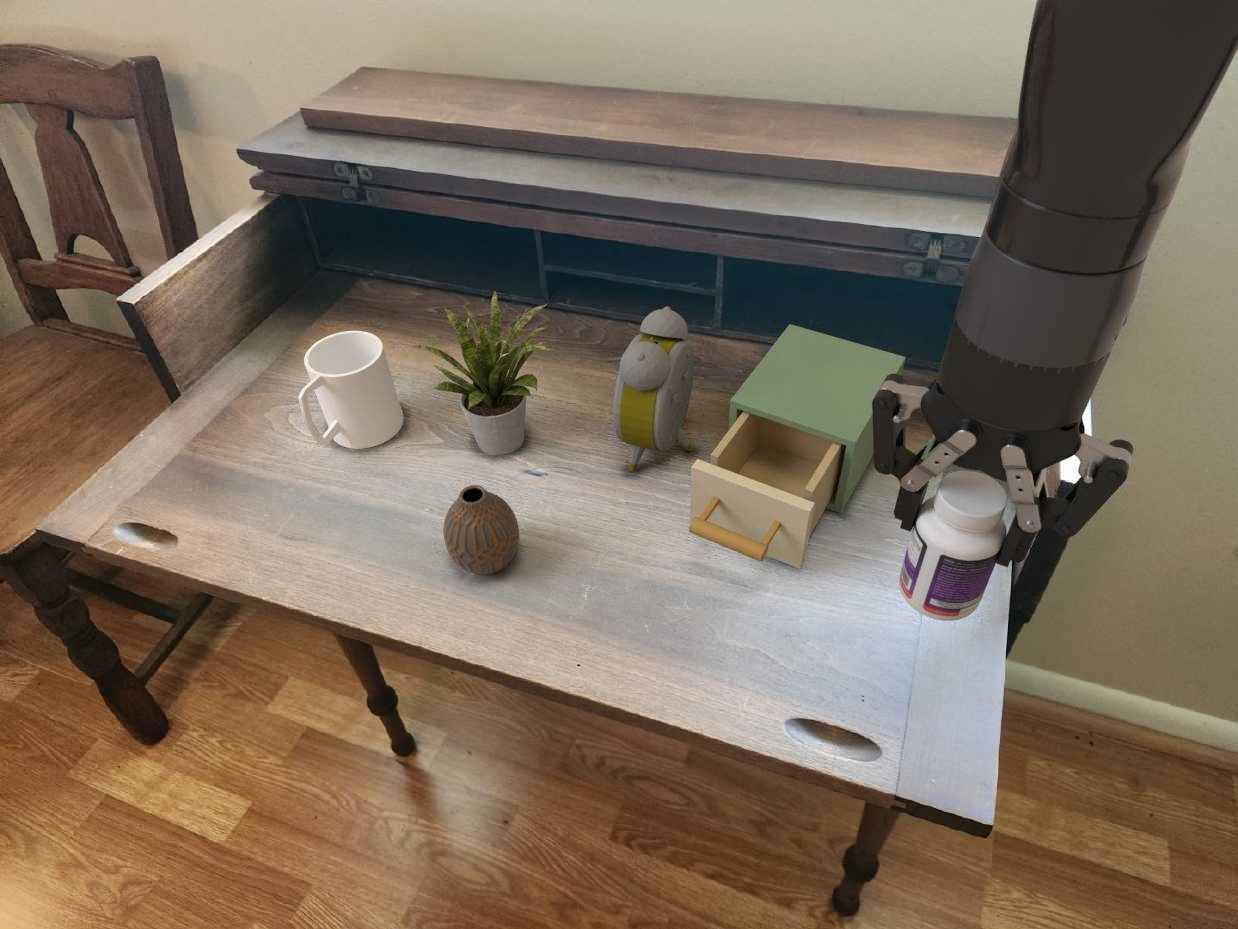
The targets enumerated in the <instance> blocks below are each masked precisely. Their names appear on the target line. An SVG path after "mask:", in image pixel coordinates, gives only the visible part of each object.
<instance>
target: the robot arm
mask: <svg viewBox="0 0 1238 929" xmlns="http://www.w3.org/2000/svg"><path fill="white" fill-rule="evenodd" d="M1032 15H1033V16H1032V20H1031V26H1030V30H1029V37H1028V42H1027V47H1026V54H1025V60H1024V66H1023V72H1022V78H1021V85H1020V93H1019V102H1018V109H1017V119H1016V125H1015V128H1014V131H1013V134H1012V137H1011V138H1010V142H1009V144H1008V147H1007V148H1006V149H1007V150H1006V152H1005V154H1004V158H1003V161H1002V164H1001V168H1000V172H999V175H998V178H997V182H996V186H995V188H994V193H993V196H992V199H991V203H990V208H989V210H988V213H987V217H986V220H985V223H984V227H983V230H982V232H981V235H980V238H979V239H978V242H977V245H976V247H975V249H974V251H973V253H972V256H971V258H970V260H969V263H968V265H967V269H966V272H965V276H964V279H963V283H962V287H961V290H960V293H959V294H960V295H959V297H958V301H957V305H956V308H955V312H954V316H953V319H952V322H951V326H950V330H949V332H948V333H949V334H948V337H947V341H946V344H945V347H944V351H943V354H942V359H941V362H940V365H939V369H938V373H937V377H936V378H935V379H934V380H932V381H931V382H930V383H929V384H928V386H920V385H912V384H906V380H905V378H904V377H903V376H902V375H899V374H895V373H892V374H889V375H888V376H887V377H886V378H885V380H884V382H883V383H882V385H881V387H880V389H879V390H878V392H877V394H876V395H875V397H874V399H873V401H872V416H873V448H874V455H873V466H874V469H875V471H877V472H878V473H879V474H881V475H892V476H894V477H895V478H896V479H897V480H898V481H899V484H900V485H899V486H900V487H899V490H898V494H897V498H896V501H895V505H894V509H893V515H894V518H895V519H896V520H899V521H901V523H900V526H899V529H901V530H904V531H907V532H908V533H909V532H910V533H912V530H913V527H914V524H915V520H916V517H917V514H918V511H919V509H920V507H921V506H922V504H923V503H924V500H925V497H926V493H927V489H928V487H929V483H930V481H931V480H932V479H933V478H937V477H938V476H940V474H942V473H943V472H944V471H945V470H946V469H947V468H949V467H950V466H951V465H953V466H956V467H959V468H962V469H965V470H971V471H972V470H973V471H980V472H982V473H983V474H985V475H987V476H989V477H990V478H992V479H996V480H999V481H1003V482H1005V483H1007V487H1008V492H1009V497H1010V502H1011V504H1014V507H1015V514H1014V516H1013V519H1012V521H1011V524H1010V526H1009V528H1008V530H1007V533H1006V539H1005V542H1004V544H1003V547H1002V549H1001V552H1000V554H999V557H998V559H997V562H996V564H995V565H999V566H1002V567H1005V568H1009V565H1010V563H1011V561H1012V562H1014V563H1017V564H1020V563H1021V562H1023V561H1025V559H1026V557H1027V555H1028V553H1029V550H1030V548H1031V546H1032V544H1033V542H1034V540H1035V538H1036V535H1037V534H1038V532H1040V531H1041V530H1047V529H1049V530H1054V531H1055V532H1056V533H1057V534H1058V535H1060V536H1062V537H1066V538H1070V537H1074V536H1076V535H1077V534H1078V533H1079V532H1080V530H1081V529H1083V527H1085V525H1087V523H1088V522H1089V521H1090V520H1091V519H1092V518H1093V517H1094V516H1095V515H1096V513H1097V512H1098V511H1099V510H1100V509H1101V508H1102V507H1103V506H1104V505H1105V504H1106V502H1107V501H1108V500H1109V499H1110V498H1111V497H1112V496H1113V495H1114V494H1115V493H1116V492H1117V490H1119V488H1120V487H1121V486H1123V484H1124V483H1125V482H1126V481H1127V478H1128V474H1129V470H1130V467H1131V463H1132V458H1133V453H1134V446H1133V444H1132V443H1131V442H1129V441H1128V440H1126V439H1113V440H1112V441H1110V442H1109V443H1107V442H1105V441H1103V440H1101V439H1099V438H1096V437H1094V436H1092V435H1090V434H1087V433H1085V432H1086V427H1085V424H1084V421H1083V416H1084V414H1085V411H1086V409H1087V407H1088V405H1089V402H1090V400H1091V398H1092V396H1093V393H1094V391H1095V389H1096V387H1097V384H1098V382H1099V380H1100V378H1101V375H1102V373H1103V371H1104V369H1105V367H1106V365H1107V362H1108V360H1109V358H1110V356H1111V353H1112V350H1113V349H1114V346H1115V344H1116V342H1117V340H1118V337H1119V336H1120V333H1121V331H1122V329H1123V328H1124V327H1125V325H1126V322H1127V320H1128V316H1129V313H1130V311H1131V309H1132V306H1133V303H1134V301H1135V299H1136V295H1137V292H1138V289H1139V286H1140V283H1141V282H1140V281H1141V277H1142V274H1143V270H1144V265H1145V263H1146V260H1147V258H1148V255H1149V253H1150V251H1151V248H1152V247H1153V244H1154V242H1155V240H1156V237H1157V235H1158V233H1159V231H1160V228H1161V226H1162V224H1163V222H1164V220H1165V218H1166V217H1165V216H1166V215H1167V213H1168V210H1169V208H1170V205H1171V203H1172V201H1173V198H1174V197H1175V194H1176V191H1177V189H1178V186H1179V183H1180V181H1181V178H1182V176H1183V173H1184V170H1185V166H1186V163H1187V159H1188V156H1189V152H1190V147H1191V140H1192V138H1193V136H1194V134H1195V133H1196V131H1197V130H1198V127H1199V126H1200V124H1201V122H1202V120H1203V118H1204V116H1205V115H1206V113H1207V111H1208V108H1209V107H1210V105H1211V103H1212V101H1213V99H1214V97H1215V96H1216V93H1217V92H1218V89H1219V88H1220V87H1221V84H1222V82H1223V80H1224V78H1225V76H1226V74H1227V72H1228V70H1229V68H1230V66H1231V64H1232V62H1233V60H1234V58H1235V56H1236V54H1237V52H1238V0H1036V2H1035V7H1034V11H1033V14H1032ZM917 409H918V410H920V411H921V413H922V415H923V417H924V419H925V421H926V423H927V424H928V426H929V429H930V430H931V432H932V436H931V437H930V438H929V439H928V441H927V442H926V443H925V444H923V445H922V447H920V449H918V450H917V451H916V453H914V452H913V451H912V450H910V449H908V448H907V447H906V421H908V420H909V419H910V418H911V417H912V415H913V412H914V411H915V410H917ZM1073 456H1075V457H1077V459H1078V461H1079V466H1078V469H1077V472H1078V475H1079V476H1080V477H1079V479H1078V480H1076V482H1075V483H1074V484H1073V485H1072V486H1071V488H1070V489H1069V490H1068V491H1067V492H1066V494H1065V495H1064V496H1063V498H1062V497H1050V494H1049V488H1048V482H1047V481H1048V480H1047V472H1048V468H1049V467H1052V466H1055V465H1056V464H1058V463H1060V462H1063V461H1065V460H1068V459H1069V458H1072V457H1073Z"/></svg>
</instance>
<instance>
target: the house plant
mask: <svg viewBox="0 0 1238 929" xmlns="http://www.w3.org/2000/svg"><path fill="white" fill-rule="evenodd" d="M490 301H491V302H490V309H489V310H490V314H489V335H488V329H487V326H485V328H484V327H483V325H482V323H481V321H480V320H479V319H478V318H477V316H475V315H474V313H473V312H472V311H471V310H470V309H469V308H468V307H466V306H464V305H462V307H463V309H464V310H465V312H466V313H467V315H468V316H467V319H466V321H465V323H463V321H462V320H460V319H459V318H458V317H457V316H456V315H455V314H454V312H452V311H450V310H448V309H447V308H445V307H443V310H444V312H445V314H446V317H447V319H448V322H449V323H450V325H451V328H452V329H453V332H454V334H455V335H456V337H457V339H458V342H459V344H460V349H461V353H462V357H463V361H464V363H465V365H466V367H467V368H465V367H464V366H463V365H462V364H461V363H460V362H459V361H458V360H456V359H455V358H454V357H453V356H451V355H450V354H448V353H447V352H445V351H443V350H441V349H439V348H436V347H431V346H427V345H421V344H418V345H411V347H412V348H416V349H421V350H423V351H427V352H429V353H431V354H434V355H435V356H437V357H439V358H441V359H443V360H444V361H446V362H448V363H449V364H450V365H452V366H453V367H452V369H454V370H458V371H459V372H461V373H462V374H463V375H465V376H466V377H467V378H468V379H470V381H472V382H471V383H470V382H469V381H467V380H466V379H464V378H463V377H461V376H459V375H457V374H455V373H453V372H452V371H450V370H448V369H447V368H444V367H443V366H439V365H435V364H433V365H432V366H433V367H435V369H436V370H438V371H440V372H441V373H442V374H443V375H444V376H445V377H446V378H447V379H448V380H450V381H451V382H450V381H442V382H440V383H438V384H436V385H435V386H433V387H432V388H431V390H434V389H435V390H438V391H441V392H447V393H456V394H460V396H459V406H460V407H461V410H462V412H463V415H464V417H465V419H466V422H467V424H468V425H469V428H470V430H471V433H472V434H473V436H474V440H475V442H476V443H477V446H478V448H479V449H480V450H481V451H482V452H483V453H485V454H486V455H487V454H488V455H490V456H503V455H509V454H512V453H514V452H516V451H517V450H519V448H521V446H522V445H523V443H524V442H525V435H526V434H525V431H526V412H527V397H530V398H531V399H534V397H533V396H532V394H531V392H530V388H533V389H534V390H536V393H537V392H538V378H537V377H536V375H534V374H533V373H527V374H523V375H520V376H518V374H519V372H520V370H521V369H522V367H523V366H524V365H525V363H526V361H527V360H529V358H530V356H531V355H532V354H533V353H534V352H535V351H536V350H539V351H540V350H541V351H553V349H552V348H550V347H547V346H544V344H545V343H547V342H548V341H549V340H548V339H547V340H544V341H541V342H537V343H535V344H529V343H530V342H531V341H532V340H533V339H534V337H535V336H536V335H537V334H538V333H540V332H541V331H543V330H545V329H546V328H548V327H549V326H548V325H546V326H542V327H539V328H538V327H537V328H536V329H534V330H533V331H531V332H530V333H529V334H528V335H527V336H526V337H524V339H523V341H522V342H521V343H520V345H519V346H516V347H514V348H513V349H512V347H513V344H514V342H515V341H516V339H517V338H518V335H519V334H520V332H521V331H522V329H523V328H524V326H526V324H527V323H528V322H529V321H530V319H531V318H532V316H534V315H535V314H536V313H537V312H538V311H540V310H542V309H543V308H545V307H546V306H547V305H548V304H550V302H547V303H544V304H541V305H538V306H536V307H534V308H532V309H529V310H528V311H527V312H525V313H524V314H523V315H522V316H521V317H520V318H519V319H518V320H517V321H516V322H515V323H514V325H513V326H512V328H511V330H510V332H509V333H508V336H507V338H506V339H505V338H503V339H502V340H501V331H502V314H501V309H500V307H499V306H500V305H499V303H498V302H499V301H498V295H497V292H496V290H494V291H493V294H492V297H491V300H490ZM470 321H472V323H473V324H474V326H475V327H474V326H473V325H472V323H470ZM469 326H470V327H471V328H472V330H473V331H474V333H475V334H476V336H477V339H478V340H479V343H478V344H476V341H475V339H474V337H473V335H472V333H471V331H470V329H469ZM502 344H504V346H503V350H502ZM528 344H529V345H528ZM511 349H512V350H511ZM520 356H521V357H520ZM517 376H518V377H517ZM528 387H529V388H528Z"/></svg>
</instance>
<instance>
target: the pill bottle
mask: <svg viewBox="0 0 1238 929" xmlns="http://www.w3.org/2000/svg"><path fill="white" fill-rule="evenodd" d="M1007 504H1008V496H1007V492H1006V490H1005V489H1004V488H1003V486H1002V485H1001V484H1000V483H999V482H998V481H996V480H995V478H993V477H991V476H989V475H988V474H985V473H981V472H977V471H974V470H973V471H972V470H958V471H954V472H950V473H948V474H946V475H945V476H943V478H942V479H941V480H940V481H939V484H938V487H937V489H936V492H935V494H934V495H932V496H930V497H929V498H927V499H926V500H925V501H923V503H922V506H921V507H920V509H919V511H918V514H917V517H916V520H915V524H914V526H913V528H912V530H911V535H910V538H909V541H908V545H907V548H906V550H905V551H906V552H905V554H904V557H903V562H902V565H901V569H900V574H899V578H898V586H899V591H900V594H901V596H902V598H903V599H904V600H905V602H906V603H907V604H908V605H909V606H910V607H911V608H912V609H913V610H914V611H916V612H918V613H920V614H921V615H923V616H925V617H927V618H930V619H933V620H937V621H943V622H953V621H959V620H963V619H965V618H968V617H969V616H970V615H972V614H973V613H974V612H975V611H976V610H977V609H978V607H979V605H980V603H981V602H982V599H983V597H984V594H985V591H986V589H987V586H988V584H989V581H990V579H991V576H992V574H993V571H994V569H995V567H996V565H997V564H996V562H997V559H998V557H999V554H1000V552H1001V549H1002V547H1003V544H1004V542H1005V539H1006V535H1007V533H1008V530H1007V524H1006V522H1005V519H1004V517H1003V516H1004V513H1005V511H1006V507H1007Z"/></svg>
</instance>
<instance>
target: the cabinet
mask: <svg viewBox="0 0 1238 929" xmlns="http://www.w3.org/2000/svg"><path fill="white" fill-rule="evenodd" d="M905 362H906V356H903V355H899V354H896V353H892V352H889V351H885V350H883V349H879V348H875V347H872V346H868V345H865V344H861V343H857V342H854V341H851V340H848V339H843V338H840V337H836V336H833V335H829V334H826V333H824V332H819V331H815V330H812V329H809V328H805V327H803V326H802V327H801V326H798V325H794V324H792V323H791V324H790V323H789V324H788V325H787V327H786V328H785V329H784V331H783V332H782V333H781V335H780V336H779V337H778V339H776V341H775V342H774V344H772V346H771V347H770V348H769V350H768V351H767V352H766V354H765V355H764V356H763V357H762V359H761V360H760V361H759V362H758V364H757V365H756V367H755V368H754V369H753V370H752V372H751V373H750V374H749V375H748V377H747V378H746V379H745V380H744V382H743V383H742V385H740V387H739V388H738V390H737V391H736V392H735V394H734V395H733V396H732V397H731V398H730V401H729V413H728V414H729V417H728V428H727V430H728V431H729V430H730V428H731V427H732V426H733V424H734V423H735V422H736V420H737V419H738V418H739V416H740V415H741V414H742V412H743V411H745V412H748V413H751V414H754V415H757V416H760V417H763V418H766V419H769V420H772V421H775V422H778V423H781V424H784V425H787V426H790V427H793V428H796V429H799V430H802V431H805V432H807V433H810V434H813V435H816V436H819V437H822V438H825V439H828V440H831V441H834V442H837V443H840V444H843V445H846V450H845V455H844V460H843V465H842V470H841V475H840V480H839V485H838V487H837V489H836V491H835V493H834V494H833V496H832V498H831V500H830V501H829V503H828V505H827V506H826V508H825V509H827V510H830V511H832V512H835V513H838V514H840V515H841V514H842V512H843V511H844V509H845V507H846V506H847V503H848V502H849V499H850V498H851V496H852V494H853V493H854V491H855V489H856V487H857V486H858V483H859V482H860V481H861V479H862V476H863V475H864V473H865V471H866V469H867V468H868V465H869V464H870V462H871V461H872V459H873V458H874V448H873V416H872V401H873V399H874V397H875V395H876V394H877V392H878V390H879V389H880V387H881V385H882V383H883V382H884V380H885V378H886V377H887V376H888V375H889V374H892V373H895V374H899V375H901V376H902V375H903V371H904V367H905ZM728 431H727V432H728Z"/></svg>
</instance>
